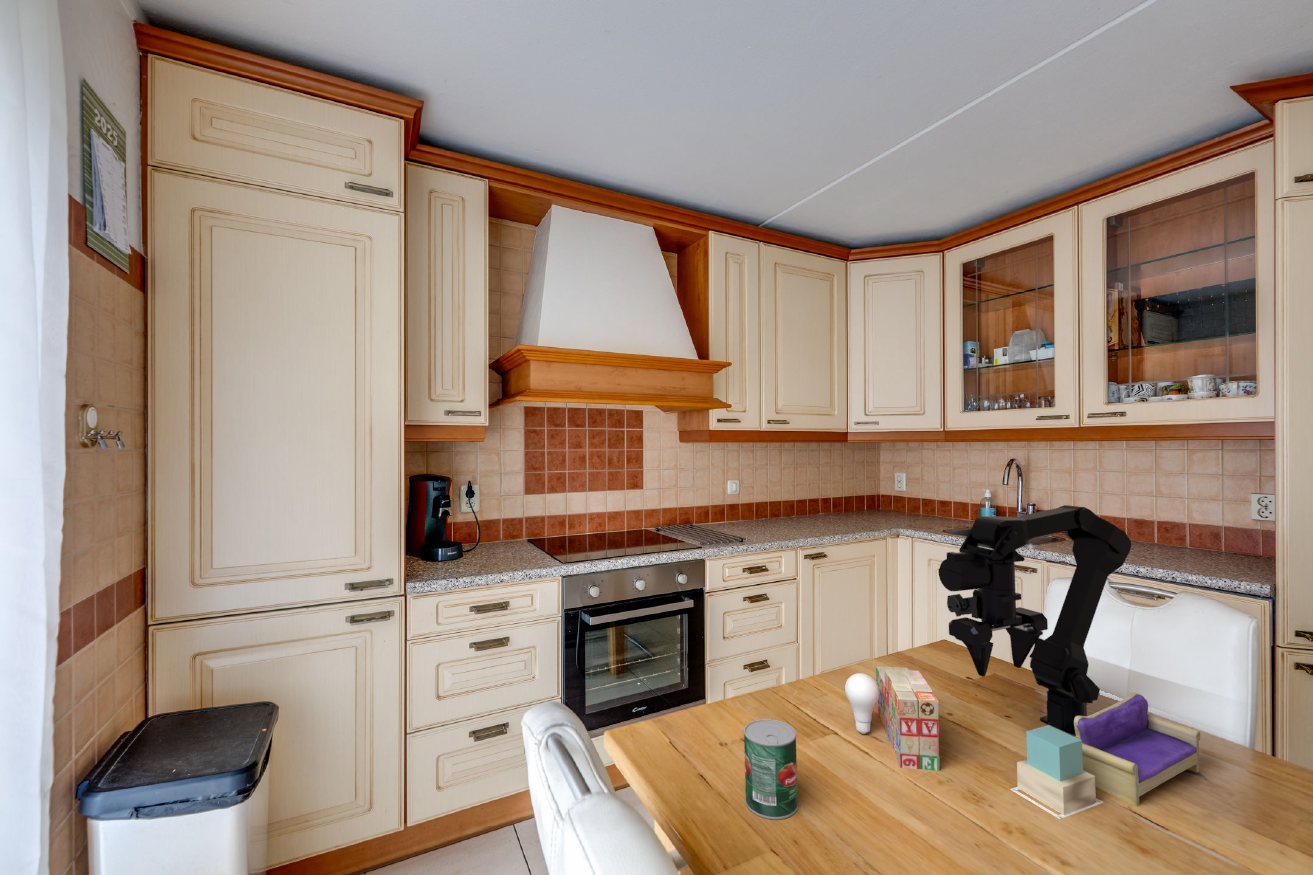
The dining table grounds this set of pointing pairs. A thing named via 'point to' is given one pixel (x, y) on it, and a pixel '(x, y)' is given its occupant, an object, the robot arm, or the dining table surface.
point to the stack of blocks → (909, 717)
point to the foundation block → (1057, 789)
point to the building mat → (1051, 811)
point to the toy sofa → (1134, 748)
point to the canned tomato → (770, 769)
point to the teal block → (1054, 752)
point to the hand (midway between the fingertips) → (999, 671)
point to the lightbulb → (862, 699)
